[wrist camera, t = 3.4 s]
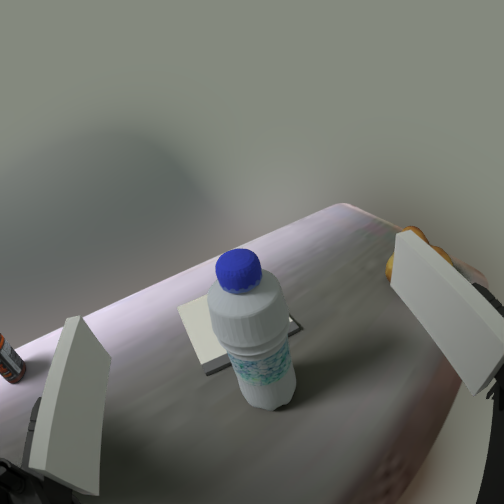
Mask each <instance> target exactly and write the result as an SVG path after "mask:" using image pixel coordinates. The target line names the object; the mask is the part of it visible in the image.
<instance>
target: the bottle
mask: <svg viewBox="0 0 504 504" xmlns="http://www.w3.org/2000/svg"><path fill="white" fill-rule="evenodd" d="M216 275H217V278H218V279H217V280H216V281H215V282H214V283H213V285H212V286H211V288H210V289H209V292H208V295H207V302H208V307H209V312H210V317H211V322H212V329H213V332H214V334H215V335H216V336H217V339H218V341H219V343H220V345H221V346H222V347H223V348H224V349H226V351H227V354H228V356H229V358H230V361H231V363H232V366H233V368H234V371H235V373H236V375H237V378H238V382H239V386H240V389H241V391H242V394H243V395H244V397H245V398H246V400H247V401H248V402H249V404H250V405H252V406H253V407H259V408H263V409H266V410H268V411H273V410H275V409H276V408H277V407H279V406H281V405H283V404H288V403H289V402H290V400H291V398H292V396H293V393H294V391H295V388H296V376H295V371H294V368H293V364H292V361H291V354H290V347H289V340H288V334H287V333H288V331H289V326H290V321H289V309H288V306H287V304H286V301H285V298H284V295H283V292H282V289H281V286H280V283H279V281H278V280H277V278H276V277H275V276H274V275H273V274H272V273H270V272H269V271H266V270H264V269H261V265H260V261H259V259H258V257H257V255H256V254H255V253H254V252H252V251H250V250H248V249H234V250H230V251H228V252H226V253H224V254H223V255H221V256H220V257H219V259H218V261H217V262H216Z"/></svg>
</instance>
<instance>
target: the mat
mask: <svg viewBox="0 0 504 504" xmlns="http://www.w3.org/2000/svg"><path fill="white" fill-rule="evenodd" d="M207 295H208V294H207ZM207 295H204V296H202V297H200V298H197V299H195V300H193V301H190V302H188V303H186V304H183V305H181V306H179V307H177V309H178V311H179V314H180V316H181V319H182V321H183V323H184V326H185V328H186V331H187V333H188V335H189V338H190V340H191V342H192V345H193V347H194V349H195V351H196V354H197V356H198V358H199V360H200V363H201V365H202V367H203V369H204V371H205V374H206V375H207V376H208V375H210V374H212V373H215V372H217V371H219V370H221V369H223V368H226V367H228V366H230V365H232V363H231V361H230V358H229V356H228V354H227V351H226V349H224V348H223V347H222V346H221V345H220V343H219V341H218V339H217V336H216V335H215V334H214V332H213V329H212V322H211V317H210V312H209V307H208V302H207ZM289 321H290V326H289V331H288V333H287V334H288V337H289V336H291V335H292V334H294V333H296V332H298V331H300V330H299V327H298V326H297V324H296V323H295V322H294V321H293V320H292V319H291V318H290V317H289Z"/></svg>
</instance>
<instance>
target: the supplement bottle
mask: <svg viewBox="0 0 504 504" xmlns="http://www.w3.org/2000/svg"><path fill="white" fill-rule="evenodd" d="M25 368H26V365H25V363H24V361H23V360H22V359H21V358H20V356H19V355H18V354H17V353H16V352H15V351H14V349H13V348H12V347H11V346H10V344H9V343H8V342H7V341H6V340H5V338H4V337H3V336H2V335H1V333H0V374H1V375H2V376H3V378H5V380H7V381H8V382H9V383H15V382H17V381H19V380H20V379H21V378H22V376H23V375H24V372H25Z"/></svg>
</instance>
